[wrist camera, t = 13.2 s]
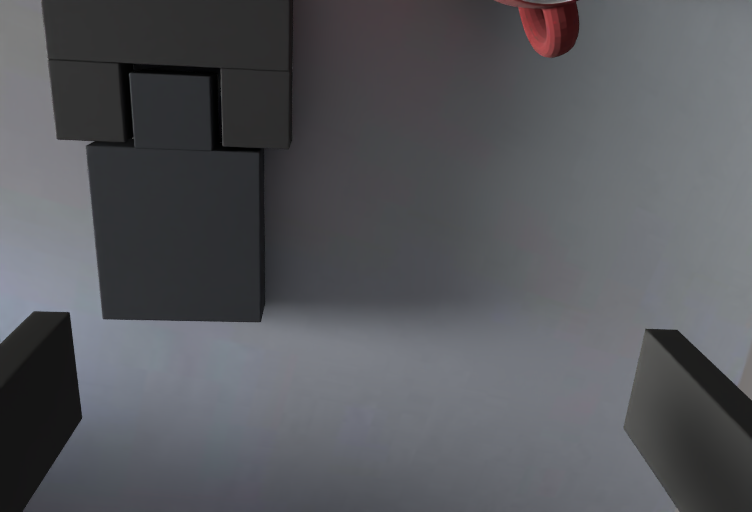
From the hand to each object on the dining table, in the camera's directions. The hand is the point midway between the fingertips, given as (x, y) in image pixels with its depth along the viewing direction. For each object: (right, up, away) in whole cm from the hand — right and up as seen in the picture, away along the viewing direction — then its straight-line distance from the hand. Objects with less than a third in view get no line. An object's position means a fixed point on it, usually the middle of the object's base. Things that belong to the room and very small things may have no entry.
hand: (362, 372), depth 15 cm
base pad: (-10, +15, +20) cm, 27 cm away
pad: (-11, +6, +23) cm, 26 cm away
